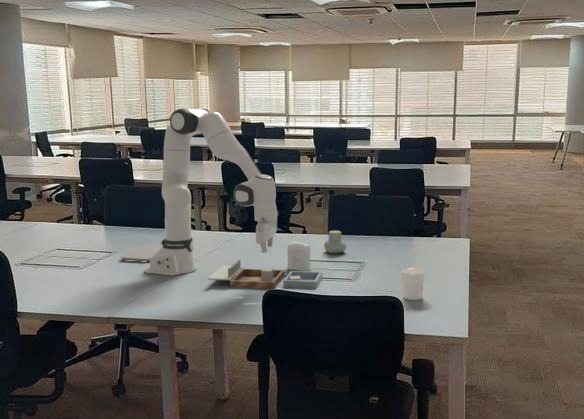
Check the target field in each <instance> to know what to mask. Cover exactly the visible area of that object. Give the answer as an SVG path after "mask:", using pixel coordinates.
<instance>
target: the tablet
mask: <svg viewBox="0 0 584 419" xmlns="http://www.w3.org/2000/svg"><path fill="white" fill-rule="evenodd" d="M161 248H162V244H160V245H159V244H144V245H142V246H140V247H137V248H136V249H134V250H131V251H129V252H126V253H125V254H123V255H121V256H120V259H122V261H123V260H133V261H134V260H135V261H150V259H151V257H152V256H153V255H154V254H155V253H156V252H157V251H158V250H160V249H161Z"/></svg>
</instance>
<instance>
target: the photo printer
mask: <svg viewBox="0 0 584 419" xmlns="http://www.w3.org/2000/svg"><path fill="white" fill-rule="evenodd" d="M287 269H288V270H290V271H308V272H310V271H311V247H310V245H309V244H307V243H305V242H302V241H292V242H289V243H288V244H287Z"/></svg>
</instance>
